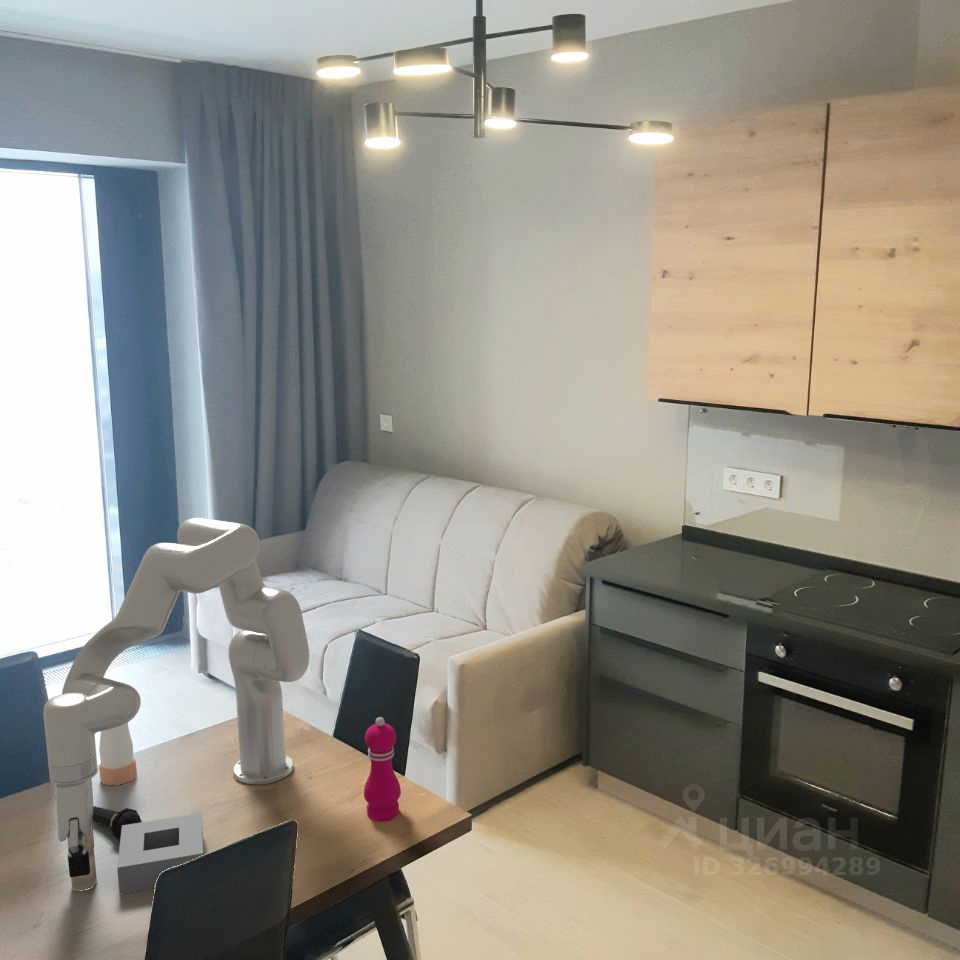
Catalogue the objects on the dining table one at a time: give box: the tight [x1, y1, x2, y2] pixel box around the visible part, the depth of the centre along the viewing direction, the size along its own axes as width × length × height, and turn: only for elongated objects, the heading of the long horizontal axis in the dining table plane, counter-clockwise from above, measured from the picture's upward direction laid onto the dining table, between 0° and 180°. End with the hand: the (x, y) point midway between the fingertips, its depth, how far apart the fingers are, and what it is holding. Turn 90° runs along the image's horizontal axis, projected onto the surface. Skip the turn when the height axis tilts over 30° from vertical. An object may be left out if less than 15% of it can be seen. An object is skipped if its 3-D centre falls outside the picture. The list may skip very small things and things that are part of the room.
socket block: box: [117, 812, 205, 895], centre depth 170 cm, size 14×14×5 cm
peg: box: [66, 823, 98, 891], centre depth 164 cm, size 4×4×12 cm
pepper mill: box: [363, 716, 402, 822], centre depth 186 cm, size 7×7×20 cm
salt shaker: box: [98, 722, 138, 786], centre depth 201 cm, size 7×7×19 cm
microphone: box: [92, 805, 143, 840], centre depth 184 cm, size 6×6×20 cm
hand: (82, 861), depth 164 cm, fingers open, 7 cm apart
